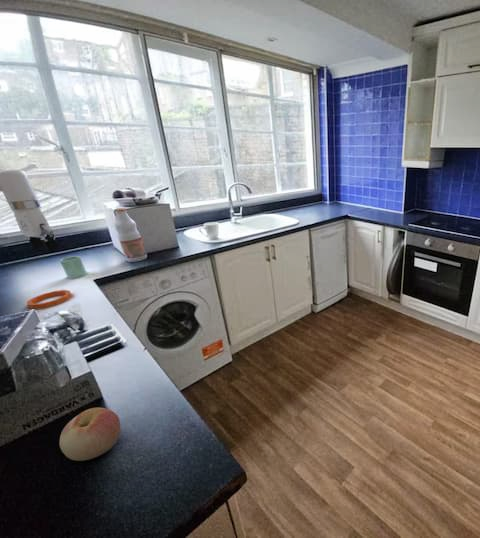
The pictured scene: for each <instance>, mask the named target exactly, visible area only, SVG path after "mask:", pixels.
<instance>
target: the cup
mask: <svg viewBox="0 0 480 538" xmlns="http://www.w3.org/2000/svg"><path fill="white" fill-rule="evenodd" d="M81 258H82V257H81V256H79V255H73V256H67V257H64V258H61V259H60V260H59V262H60V264H61V266H62V268H63V271H64V273H65V275H66V278H67V279H69V280H71V279H73V280H74V279H78V278H81V277H84V276H86V275H88V272H87V270H86V268H85V266H84V263H83V261H82V259H81Z"/></svg>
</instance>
